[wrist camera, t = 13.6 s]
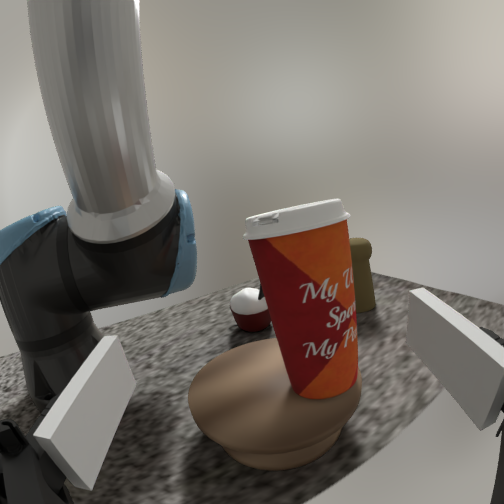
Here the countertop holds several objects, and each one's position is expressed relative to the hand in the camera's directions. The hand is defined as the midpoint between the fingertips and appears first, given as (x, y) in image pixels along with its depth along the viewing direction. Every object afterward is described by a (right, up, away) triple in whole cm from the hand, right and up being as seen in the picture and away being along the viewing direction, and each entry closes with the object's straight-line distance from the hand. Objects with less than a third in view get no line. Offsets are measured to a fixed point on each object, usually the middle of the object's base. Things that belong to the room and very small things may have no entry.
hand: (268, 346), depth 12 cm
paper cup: (+5, -7, +11) cm, 14 cm away
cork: (+17, -5, +35) cm, 39 cm away
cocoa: (0, -8, +34) cm, 35 cm away
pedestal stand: (+2, -12, +14) cm, 18 cm away
